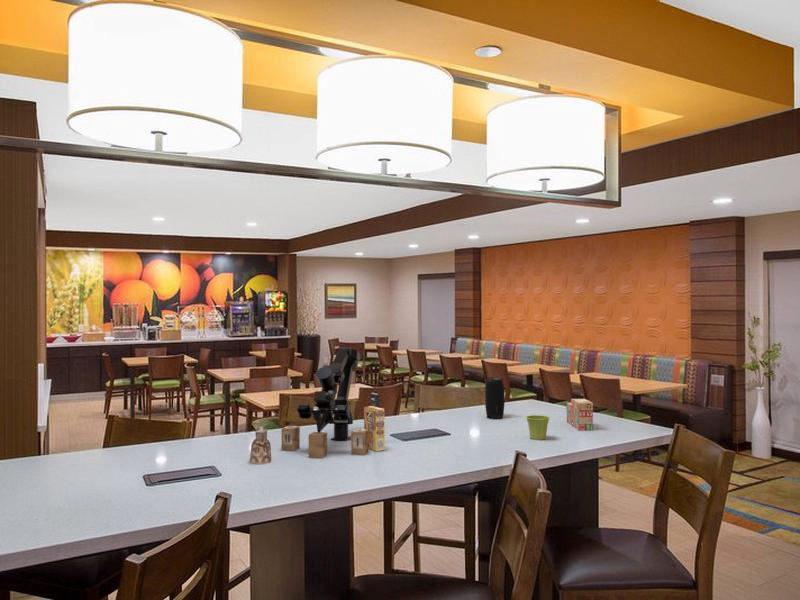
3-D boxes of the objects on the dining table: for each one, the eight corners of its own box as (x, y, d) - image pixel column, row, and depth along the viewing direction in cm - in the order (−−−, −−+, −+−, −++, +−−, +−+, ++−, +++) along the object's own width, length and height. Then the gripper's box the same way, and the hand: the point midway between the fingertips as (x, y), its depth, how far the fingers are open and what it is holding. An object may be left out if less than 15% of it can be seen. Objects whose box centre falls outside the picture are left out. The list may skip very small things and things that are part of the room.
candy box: (385, 450, 219) (385, 408, 220) (375, 451, 217) (375, 409, 217) (373, 446, 227) (373, 405, 227) (363, 447, 224) (363, 406, 225)
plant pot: (548, 441, 235) (548, 419, 235) (524, 440, 238) (524, 418, 238) (550, 437, 244) (550, 415, 244) (527, 435, 247) (527, 414, 247)
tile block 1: (287, 447, 224) (287, 425, 224) (299, 448, 223) (299, 425, 223) (281, 450, 219) (281, 427, 219) (293, 451, 218) (293, 428, 218)
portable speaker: (487, 416, 295) (487, 376, 295) (506, 417, 292) (505, 377, 292) (483, 418, 287) (483, 378, 287) (503, 420, 284) (503, 378, 284)
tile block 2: (355, 451, 218) (355, 428, 218) (368, 452, 217) (368, 429, 217) (350, 454, 213) (350, 431, 213) (364, 455, 211) (364, 431, 212)
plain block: (314, 454, 213) (314, 431, 213) (327, 455, 212) (327, 432, 212) (308, 457, 208) (308, 434, 208) (321, 458, 207) (322, 435, 207)
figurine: (249, 464, 198) (250, 428, 198) (249, 459, 205) (249, 424, 205) (271, 463, 200) (272, 427, 200) (270, 458, 207) (270, 423, 207)
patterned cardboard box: (566, 422, 279) (566, 395, 279) (579, 422, 278) (579, 395, 279) (578, 431, 257) (578, 402, 258) (593, 431, 257) (593, 402, 257)
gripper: (298, 381, 218) (287, 417, 207) (348, 382, 215) (339, 418, 204) (305, 400, 226) (295, 435, 215) (353, 401, 223) (345, 437, 212)
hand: (318, 431), depth 211 cm, fingers closed
